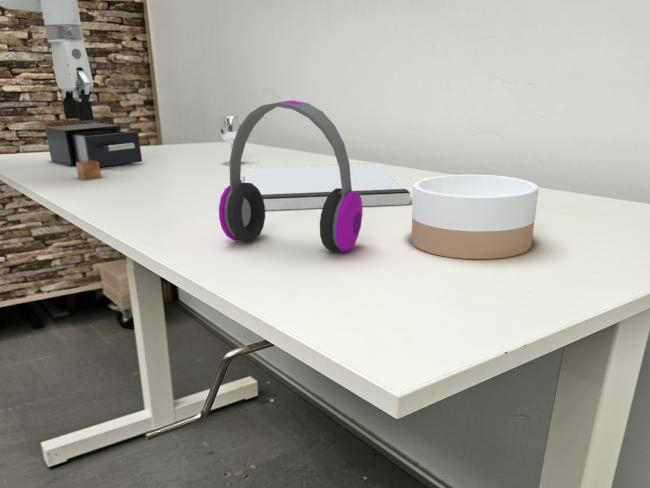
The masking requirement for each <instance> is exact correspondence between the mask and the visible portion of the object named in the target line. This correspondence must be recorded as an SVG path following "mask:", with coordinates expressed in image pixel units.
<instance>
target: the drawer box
mask: <svg viewBox="0 0 650 488" xmlns="http://www.w3.org/2000/svg"><path fill="white" fill-rule="evenodd" d="M44 130H45V135H46V140H47V145H48V150H49V155H50V161H51V162H52V163H56V164H59V165H63V166H67V167H71V168H74V167H76V162H74V161H73V156H72V150H71V145H70V139H69V134H72V133H83V132H93V131H104V130H119V131H122V128H121V125H118V124H111V123H110V124H109V123H104V122H103V123H102V122H92V123H80V124H79V123H78V124H69V125H57V126H55V125H54V126H45V127H44Z"/></svg>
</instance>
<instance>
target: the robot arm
mask: <svg viewBox="0 0 650 488" xmlns="http://www.w3.org/2000/svg"><path fill="white" fill-rule="evenodd" d="M0 7H1V8H4V9H7V10H12V11H13V10H14V11H24V12H34V13H41V14H42V19H43V24H44V28H45V29H44V30H45V34H46V39H47V43H49V44H50V47H51V57H52V65H53V70H54V76H55V81H56V85H57V87H58V89H59V93H60V98H61V101H62V106H63V113H64V117H65V119H66V120H75V119H78V120H79V121H81V122H84V121H93V120H94V112H93V106H92V97H91V93H92V92H91V90H92V89H93V88H94V82H93V81H94V80H93V76H92V70H91V66H90V62H89V57H88V53H87V50H86V46H85V44H84V43H85V40H84V33H83V27H82V23H81V15H80V10H79V4H78V0H0Z"/></svg>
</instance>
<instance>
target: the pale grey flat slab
mask: <svg viewBox="0 0 650 488" xmlns="http://www.w3.org/2000/svg"><path fill="white" fill-rule="evenodd" d="M349 165H350V177H351V187H352V191H355V192H357V193H358V194H359V195H360V197H361V200H362V205H363V207H377V206H400V205H404V206H405V205H411V197H412V196H411V195H412V194H411V191H410V190H409V189H408V188H407V187H406V186H404V185H403V184H402V183H401V182H400V181H399V180H398V179H397V178H395V177H394V175H392V173H390V172H389V171H388V170H387V169H386V168H384V167H383V165H381V164H380V162H360V163H349ZM243 183H252V184H253V185H254V186H256V187H257V188H258V189H259V191H260V193H261V195H262V197H263V200H264V205H265V211H283V210H307V209H309V210H311V209H323V206H324V203H325V201H326V199H327V197H328V195H329V194H330V193H331V192H332V191H333V190H335V189H336V188H342V185H341V177H340V169H339V165H338V163H334V164H312V165H311V164H307V165H306V164H305V165H283V166H282V165H278V166H255V167H254V166H253V167H246V169H245V177H244V181H243Z"/></svg>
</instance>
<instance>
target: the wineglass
mask: <svg viewBox="0 0 650 488" xmlns="http://www.w3.org/2000/svg"><path fill="white" fill-rule="evenodd" d="M241 124H242V122H241V118H240V116H236V115H235V116H222V117H221V118H220V126H219V130H220V131H219V132H220V136H221V138H222V139H223V140H224V141H225V142H228V143H230V149H231V150H232V146H233V142H234V139H235V137H236V134H237V131H238V129H239V126H240V125H241ZM226 165H229V166H230V162H227V163H226ZM241 165H243V164H242V162H241Z"/></svg>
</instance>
